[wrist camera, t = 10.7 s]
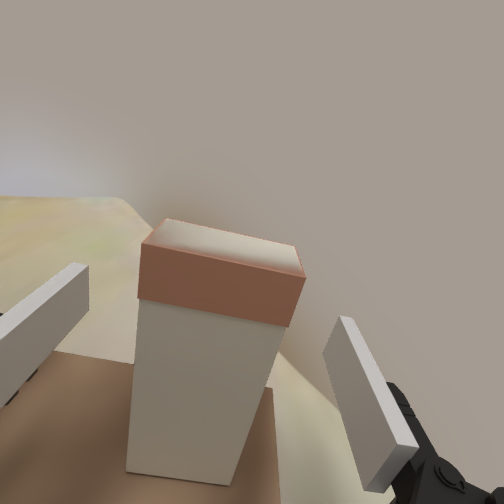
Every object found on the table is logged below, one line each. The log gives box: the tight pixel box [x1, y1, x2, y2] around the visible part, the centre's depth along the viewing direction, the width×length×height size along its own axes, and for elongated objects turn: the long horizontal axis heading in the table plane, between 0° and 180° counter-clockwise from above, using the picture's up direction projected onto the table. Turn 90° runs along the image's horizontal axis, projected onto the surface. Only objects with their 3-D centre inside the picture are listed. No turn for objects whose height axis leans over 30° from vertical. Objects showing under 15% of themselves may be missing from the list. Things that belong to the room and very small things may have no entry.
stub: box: [126, 218, 306, 486], centre depth 12 cm, size 5×2×12 cm, turn 89°
